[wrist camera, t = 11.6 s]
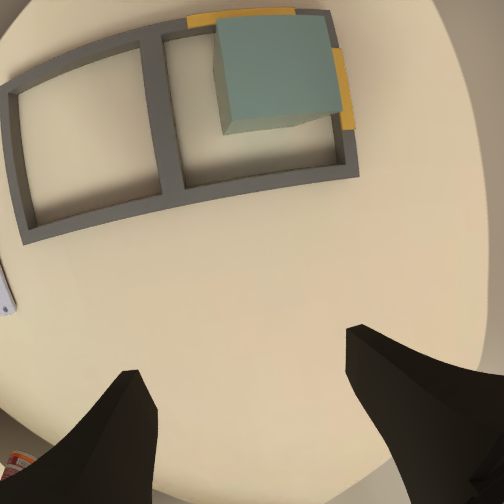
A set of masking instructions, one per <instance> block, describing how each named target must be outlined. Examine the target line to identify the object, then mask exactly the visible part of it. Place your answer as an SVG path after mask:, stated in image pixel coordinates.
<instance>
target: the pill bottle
mask: <svg viewBox="0 0 504 504" xmlns="http://www.w3.org/2000/svg"><path fill="white" fill-rule="evenodd" d="M37 459H38V458H36V457H35V456H33V455H31V454H29V453H26V452H23V451H20V450H14V451H13V452H12V453H11V455H10V458H9V460H8V462H7V465H6V467H5V470H4V472H3V475H2V478H1V480H0V481H2V480H4V479H6V478H8V477H10V476H12V475H14V474H16V473H17V472H19V471H21V470H22V469H24V468H26V467H27V466H29V465H30V464H32V463H33V462H35V461H36V460H37Z"/></svg>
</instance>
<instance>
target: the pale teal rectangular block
mask: <svg viewBox="0 0 504 504" xmlns="http://www.w3.org/2000/svg"><path fill="white" fill-rule="evenodd" d="M213 74H214V81H215V87H216V94H217V100H218V107H219V113H220V119H221V126H222V132H223V136H224V135H230V134H237V133H243V132H251V131H258V130H266V129H275V128H284V127H293V126H296V125H299V124H302V123H305V122H308V121H312V120H315V119H318V118H321V117H325V116H328V115H331V114H335V113H338V112H342V111H343V107H342V101H341V95H340V89H339V83H338V78H337V72H336V67H335V62H334V57H333V53H332V48H331V43H330V39H329V34H328V30H327V26H326V22H325V18H324V16H317V15H258V16H242V17H231V18H221V19H216V31H215V45H214V60H213Z"/></svg>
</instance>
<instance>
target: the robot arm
mask: <svg viewBox="0 0 504 504" xmlns="http://www.w3.org/2000/svg"><path fill="white" fill-rule="evenodd" d="M6 308H7V309H8V310H7V309H6ZM15 312H16V305H15V303H14V300H13V298H12V295H11V293H10V290H9V288H8V285H7V282H6V279H5V277H4V274H3V271H2V268H1V265H0V316H6V315H12V314H14V313H15ZM345 372H346V375H347V377H348V379H349V382H350V384H351V386H352V388H353V390H354V392H355V395H356V396H357V398H358V399H359V401H360V403H361V404H362V406H363V407H364V409H365V411H366V412H367V414H368V415H369V417H370V418H371V420H372V422H373V423H374V425H375V426H376V428H377V429H378V431H379V433H380V434H381V436H382V437H383V439H384V441H385V443H386V444H387V446H388V448H389V450H390V452H391V455H392V457H393V459H394V461H395V463H396V465H397V468H398V470H399V472H400V475H401V477H402V480H403V482H404V485H405V487H406V490H407V493H408V496H409V498H410V501H411V504H504V376H503V375H495V374H488V373H483V372H477V371H473V370H469V369H464V368H461V367H457V366H454V365H451V364H448V363H445V362H442V361H439V360H436V359H434V358H431V357H429V356H426V355H424V354H421V353H419V352H417V351H415V350H413V349H410V348H408V347H406V346H404V345H402V344H400V343H398V342H396V341H394V340H392V339H390V338H388V337H386V336H385V335H383V334H381V333H379V332H377V331H375V330H373V329H371V328H369V327H367V326H365V325H363V324H361V325H357V326H354V327H350V328H347V329H346V370H345ZM157 438H158V409H157V407H156V405H155V403H154V401H153V399H152V397H151V395H150V393H149V391H148V389H147V387H146V385H145V383H144V381H143V379H142V377H141V375H140V373H139V370H129V371H122V372H121V373H120V374H119V376H118V377H117V378H116V379H115V380H114V381H113V383H112V384H111V385H110V386H109V388H108V389H107V390H106V391H105V392H104V394H103V395H102V396H101V397H100V399H99V400H98V401H97V402H96V403H95V405H94V406H93V407H92V408H91V409H90V411H89V412H88V413H87V414H86V415H85V416H84V417H83V418H82V419H81V420H80V422H79V423H78V424H77V425H76V426H75V427H74V428H73V429H72V430H71V431H70V432H69V433H68V434H67V435H66V436H65V437H64V438H63V439H62V440H61V441H60V442H59V443H57V444H56V445H55V446H54V447H53V448H52V449H51V450H49V451H48V452H47V453H45V454H44V455H43V456H41V457H40V458H39V459H37V460H36V461H35V462H33V463H32V464H30V465H29V466H27V467H26V468H24V469H22V470H21V471H19V472H17V473H16V474H14V475H12V476H10V477H8V478H6V479H4V480H2V481H0V504H152V482H153V472H154V463H155V455H156V446H157Z"/></svg>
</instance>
